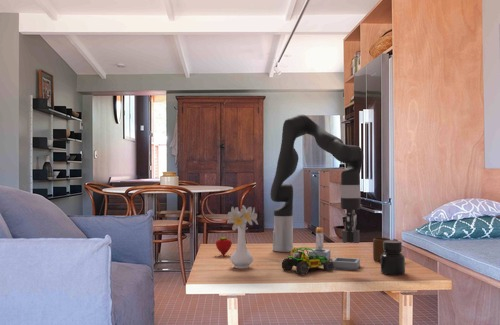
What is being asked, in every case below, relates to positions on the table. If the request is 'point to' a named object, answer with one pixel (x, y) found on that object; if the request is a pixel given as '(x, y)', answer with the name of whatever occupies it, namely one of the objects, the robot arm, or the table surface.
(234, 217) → the flower vase
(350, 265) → the tray
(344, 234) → the block
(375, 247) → the mug
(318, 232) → the pin
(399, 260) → the ink bottle
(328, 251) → the socket
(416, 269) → the table surface
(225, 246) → the strawberry
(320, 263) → the motor vehicle
